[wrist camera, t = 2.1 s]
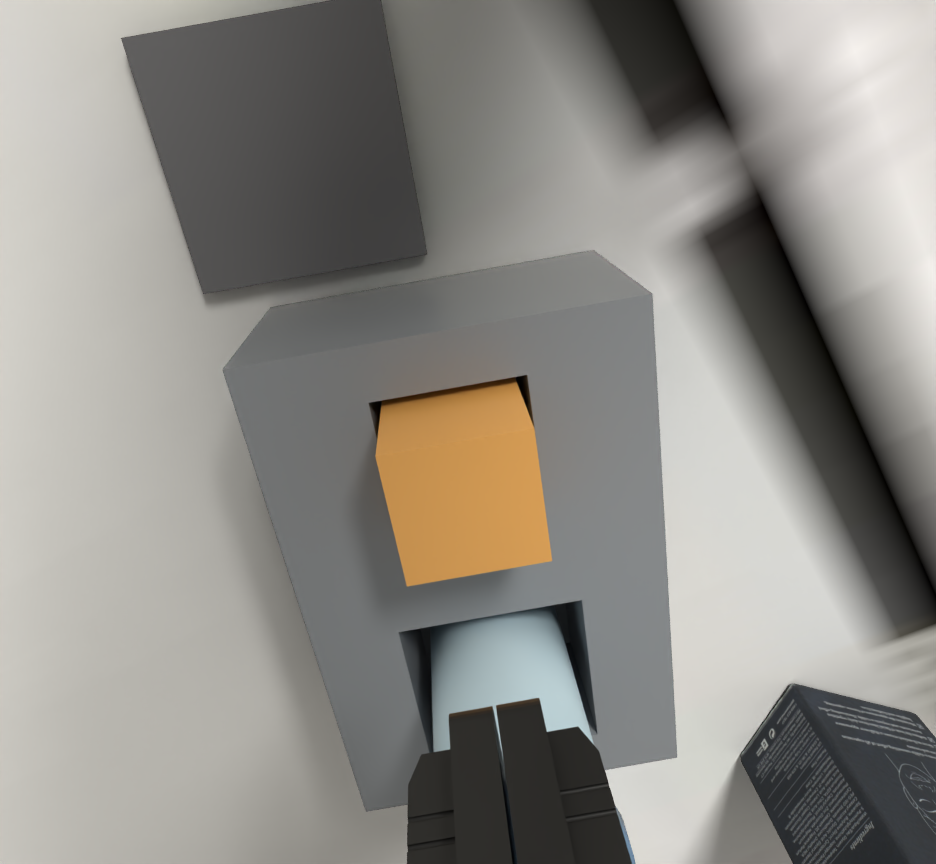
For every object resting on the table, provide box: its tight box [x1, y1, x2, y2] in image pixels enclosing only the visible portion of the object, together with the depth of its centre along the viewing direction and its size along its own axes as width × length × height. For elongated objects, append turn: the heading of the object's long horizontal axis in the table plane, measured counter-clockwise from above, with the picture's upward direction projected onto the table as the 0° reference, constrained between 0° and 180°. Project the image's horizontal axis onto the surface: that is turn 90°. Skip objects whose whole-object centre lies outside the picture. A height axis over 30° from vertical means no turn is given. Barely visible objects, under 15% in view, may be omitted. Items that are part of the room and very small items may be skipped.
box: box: [741, 684, 936, 864], centre depth 32 cm, size 8×6×11 cm
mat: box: [121, 0, 427, 294], centre depth 23 cm, size 8×8×1 cm
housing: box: [223, 250, 677, 812], centre depth 26 cm, size 18×12×7 cm, turn 9°
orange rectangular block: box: [375, 377, 552, 587], centre depth 21 cm, size 4×4×5 cm
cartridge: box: [430, 605, 635, 864], centre depth 24 cm, size 5×5×12 cm
